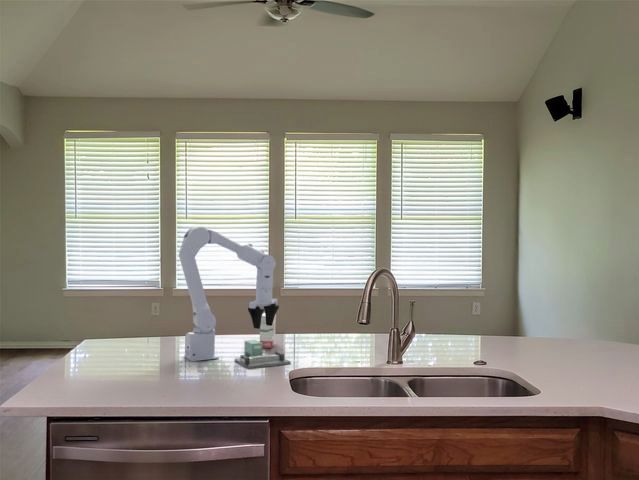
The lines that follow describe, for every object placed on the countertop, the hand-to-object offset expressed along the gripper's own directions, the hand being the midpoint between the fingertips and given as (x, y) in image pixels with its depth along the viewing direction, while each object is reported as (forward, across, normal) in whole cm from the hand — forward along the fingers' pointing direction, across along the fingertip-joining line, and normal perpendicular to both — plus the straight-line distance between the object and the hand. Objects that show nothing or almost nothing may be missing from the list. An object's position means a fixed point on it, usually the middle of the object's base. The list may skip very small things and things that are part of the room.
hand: (263, 326), depth 191 cm
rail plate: (+10, -10, -7) cm, 16 cm away
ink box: (+10, +12, +6) cm, 17 cm away
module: (+10, -5, 0) cm, 11 cm away
